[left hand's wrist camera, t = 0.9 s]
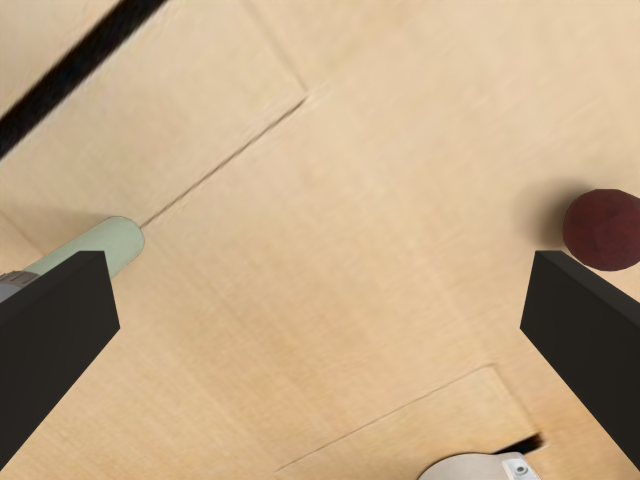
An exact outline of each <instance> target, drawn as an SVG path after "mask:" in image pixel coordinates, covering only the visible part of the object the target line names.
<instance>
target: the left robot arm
mask: <svg viewBox="0 0 640 480" xmlns="http://www.w3.org/2000/svg"><path fill="white" fill-rule="evenodd" d="M119 329H120V324H119V320H118V315H117V310H116V305H115V300H114V295H113V290H112V285H111V281H110V276H109V271H108V266H107V261H106V256H105V251H78V252H76V253H75V254H73V255H72V256H70V257H69V258H67V259H66V260H64V261H63V262H61V263H60V264H58V265H57V266H55V267H54V268H52V269H51V270H49V271H48V272H46V273H45V274H43V275H42V276H40V277H39V278H37V279H36V280H34V281H33V282H31V283H30V284H28V285H27V286H25V287H24V288H22V289H21V290H19V291H18V292H16V293H15V294H13V295H12V296H10V297H9V298H7V299H6V300H4V301H3V302H1V303H0V471H1V470H2V469H3V467H4V466H5V465H6V464H7V463H8V462H9V460H10V459H11V458H12V457H13V456H14V454H15V453H16V452H17V451H18V450H19V448H20V447H21V446H22V445H23V444H24V442H25V441H26V440H27V439H28V438H29V436H30V435H31V434H32V433H33V432H34V431H35V429H36V428H37V427H38V426H39V425H40V423H41V422H42V421H43V420H44V419H45V417H46V416H47V415H48V414H49V413H50V411H51V410H52V409H53V408H54V407H55V406H56V404H57V403H58V402H59V401H60V400H61V398H62V397H63V396H64V395H65V394H66V392H67V391H68V390H69V389H70V388H71V386H72V385H73V384H74V383H75V382H76V380H77V379H78V378H79V377H80V376H81V375H82V373H83V372H84V371H85V370H86V369H87V367H88V366H89V365H90V364H91V363H92V361H93V360H94V359H95V358H96V357H97V355H98V354H99V353H100V352H101V351H102V350H103V348H104V347H105V346H106V345H107V344H108V342H109V341H110V340H111V339H112V338H113V336H114V335H115V334H116V333H117V332H118V330H119ZM520 329H521V330H522V332H523V333H524V334H525V335H526V336H527V338H528V339H529V340H530V341H531V342H532V344H533V345H534V346H535V347H536V348H537V350H538V351H539V352H540V353H541V354H542V355H543V357H544V358H545V359H546V360H547V361H548V363H549V364H550V365H551V366H552V367H553V369H554V370H555V371H556V372H557V373H558V375H559V376H560V377H561V378H562V379H563V380H564V382H565V383H566V384H567V385H568V386H569V388H570V389H571V390H572V391H573V392H574V394H575V395H576V396H577V397H578V398H579V400H580V401H581V402H582V403H583V404H584V406H585V407H586V408H587V409H588V410H589V411H590V413H591V414H592V415H593V416H594V417H595V419H596V420H597V421H598V422H599V423H600V425H601V426H602V427H603V428H604V429H605V431H606V432H607V433H608V434H609V435H610V436H611V438H612V439H613V440H614V441H615V442H616V444H617V445H618V446H619V447H620V448H621V450H622V451H623V452H624V453H625V454H626V456H627V457H628V458H629V459H630V460H631V462H632V463H633V464H634V465H635V466H636V467H637V469H638V470H639V471H640V303H639V302H637V301H636V300H634V299H633V298H631V297H630V296H628V295H627V294H625V293H624V292H622V291H621V290H619V289H618V288H616V287H615V286H613V285H612V284H610V283H609V282H607V281H606V280H604V279H603V278H601V277H600V276H598V275H597V274H595V273H594V272H592V271H591V270H589V269H588V268H586V267H585V266H583V265H582V264H580V263H579V262H577V261H576V260H574V259H573V258H571V257H570V256H568V255H567V254H565V253H564V252H562V251H535V256H534V261H533V266H532V271H531V276H530V280H529V285H528V290H527V295H526V300H525V305H524V310H523V315H522V320H521V324H520Z"/></svg>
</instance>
